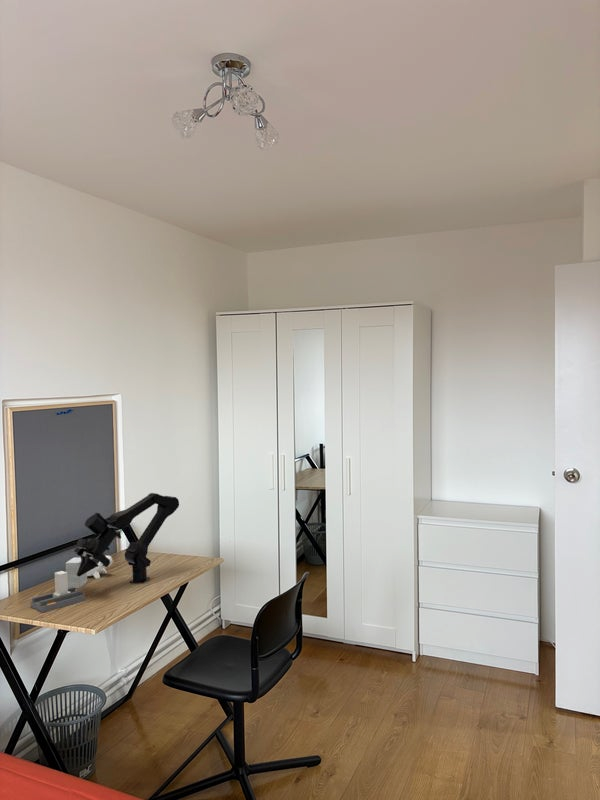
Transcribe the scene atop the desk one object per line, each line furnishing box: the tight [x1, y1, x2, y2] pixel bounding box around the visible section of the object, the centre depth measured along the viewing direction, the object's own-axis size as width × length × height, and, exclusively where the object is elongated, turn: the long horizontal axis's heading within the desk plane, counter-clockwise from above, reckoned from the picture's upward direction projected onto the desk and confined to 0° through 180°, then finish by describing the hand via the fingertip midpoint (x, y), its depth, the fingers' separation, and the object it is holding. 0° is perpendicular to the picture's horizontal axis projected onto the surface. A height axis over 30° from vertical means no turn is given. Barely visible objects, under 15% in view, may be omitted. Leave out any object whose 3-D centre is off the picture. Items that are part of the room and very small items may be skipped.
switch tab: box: [53, 570, 71, 597], centre depth 228 cm, size 5×4×9 cm
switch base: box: [30, 587, 86, 613], centre depth 227 cm, size 16×10×4 cm, turn 137°
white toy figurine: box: [87, 555, 114, 580], centre depth 262 cm, size 9×8×15 cm
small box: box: [65, 557, 88, 589], centre depth 249 cm, size 8×6×10 cm
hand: (77, 575), depth 233 cm, fingers closed
